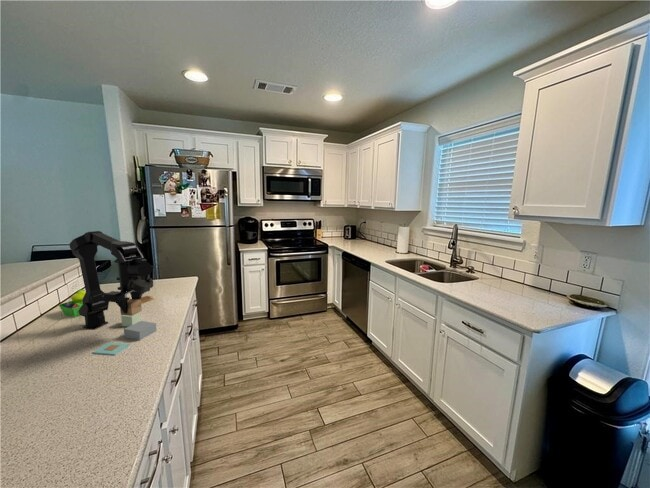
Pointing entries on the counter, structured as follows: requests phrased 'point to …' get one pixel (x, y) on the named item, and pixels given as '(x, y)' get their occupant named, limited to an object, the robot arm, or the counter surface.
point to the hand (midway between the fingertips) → (131, 310)
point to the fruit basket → (73, 304)
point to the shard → (146, 299)
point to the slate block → (140, 330)
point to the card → (111, 348)
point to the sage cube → (130, 319)
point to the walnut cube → (133, 307)
